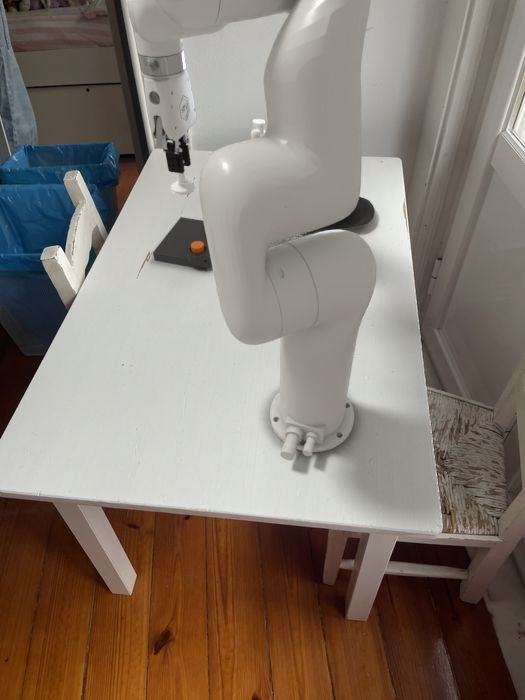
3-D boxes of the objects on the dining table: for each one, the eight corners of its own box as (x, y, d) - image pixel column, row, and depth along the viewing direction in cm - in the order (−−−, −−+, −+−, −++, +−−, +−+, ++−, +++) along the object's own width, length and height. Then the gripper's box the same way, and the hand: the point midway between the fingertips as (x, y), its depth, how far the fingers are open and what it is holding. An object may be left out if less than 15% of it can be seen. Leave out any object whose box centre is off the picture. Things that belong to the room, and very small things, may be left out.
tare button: (201, 254, 97) (200, 249, 96) (189, 252, 98) (188, 247, 97) (206, 247, 99) (205, 242, 98) (194, 245, 99) (193, 240, 98)
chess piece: (168, 185, 98) (159, 136, 91) (192, 181, 99) (185, 131, 92) (173, 197, 95) (164, 146, 88) (197, 192, 96) (190, 142, 89)
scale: (207, 272, 98) (205, 258, 96) (152, 263, 101) (149, 249, 98) (232, 233, 108) (231, 219, 105) (182, 225, 110) (179, 211, 108)
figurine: (277, 172, 126) (276, 112, 115) (271, 190, 120) (270, 129, 109) (249, 171, 127) (246, 111, 116) (243, 189, 121) (239, 128, 110)
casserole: (256, 232, 107) (255, 198, 101) (273, 190, 120) (272, 157, 113) (370, 244, 103) (376, 209, 97) (375, 199, 116) (381, 165, 109)
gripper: (162, 81, 74) (180, 191, 88) (202, 49, 85) (213, 152, 98) (119, 77, 76) (143, 186, 90) (163, 46, 86) (179, 148, 100)
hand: (179, 167), depth 94 cm, fingers closed on chess piece
